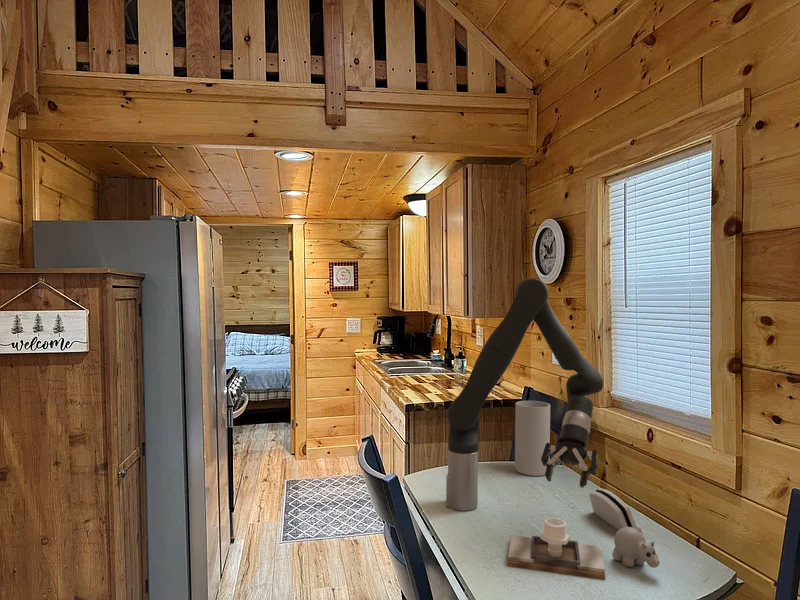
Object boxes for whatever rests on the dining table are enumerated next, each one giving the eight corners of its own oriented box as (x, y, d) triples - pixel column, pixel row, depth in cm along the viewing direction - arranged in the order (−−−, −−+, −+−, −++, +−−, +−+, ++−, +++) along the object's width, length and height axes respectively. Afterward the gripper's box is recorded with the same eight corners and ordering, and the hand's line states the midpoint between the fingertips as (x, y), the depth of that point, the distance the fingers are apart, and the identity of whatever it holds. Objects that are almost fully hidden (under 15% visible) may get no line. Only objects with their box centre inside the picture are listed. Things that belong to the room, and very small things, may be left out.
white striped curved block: (643, 534, 146) (633, 501, 146) (629, 542, 146) (618, 508, 145) (608, 510, 163) (598, 480, 162) (594, 517, 162) (585, 486, 161)
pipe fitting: (573, 560, 130) (573, 527, 130) (544, 560, 130) (544, 527, 129) (565, 548, 136) (565, 516, 136) (536, 548, 136) (537, 516, 136)
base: (507, 565, 129) (507, 555, 129) (511, 540, 142) (511, 530, 142) (605, 579, 123) (605, 568, 123) (599, 551, 137) (599, 541, 136)
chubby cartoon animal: (644, 582, 122) (645, 545, 122) (607, 558, 133) (607, 524, 133) (669, 577, 124) (669, 540, 124) (630, 553, 136) (630, 520, 135)
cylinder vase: (552, 468, 202) (552, 402, 202) (546, 478, 191) (547, 408, 191) (518, 464, 207) (519, 399, 207) (511, 473, 196) (512, 405, 196)
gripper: (547, 419, 152) (535, 471, 142) (600, 426, 145) (591, 481, 135) (552, 434, 157) (540, 485, 147) (603, 441, 150) (594, 495, 140)
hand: (564, 483), depth 141 cm, fingers open, 8 cm apart
